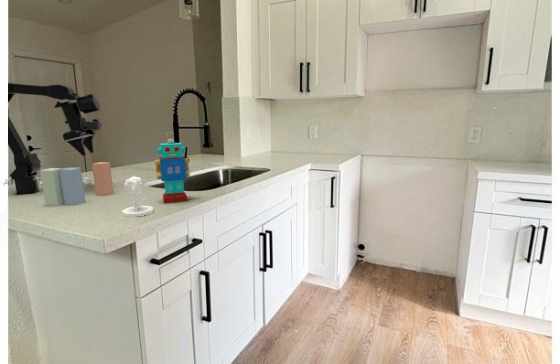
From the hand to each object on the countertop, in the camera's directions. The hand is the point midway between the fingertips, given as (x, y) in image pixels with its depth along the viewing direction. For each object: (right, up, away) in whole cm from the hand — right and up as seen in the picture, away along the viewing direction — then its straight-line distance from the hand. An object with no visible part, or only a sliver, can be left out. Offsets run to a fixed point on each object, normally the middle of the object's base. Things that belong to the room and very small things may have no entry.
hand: (88, 154), depth 134 cm
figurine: (+33, -22, -29) cm, 49 cm away
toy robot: (+40, -18, -14) cm, 47 cm away
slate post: (+5, -19, -17) cm, 26 cm away
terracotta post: (+9, -16, -4) cm, 19 cm away
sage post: (-1, -19, -18) cm, 27 cm away
